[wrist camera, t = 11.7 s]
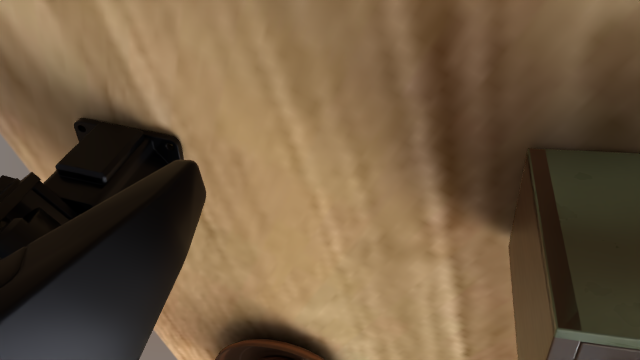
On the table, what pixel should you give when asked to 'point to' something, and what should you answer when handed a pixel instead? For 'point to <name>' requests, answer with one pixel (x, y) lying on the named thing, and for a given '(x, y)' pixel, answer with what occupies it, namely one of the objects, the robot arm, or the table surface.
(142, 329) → the robot arm
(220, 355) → the cup and saucer
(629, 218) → the shelf
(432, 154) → the table surface
